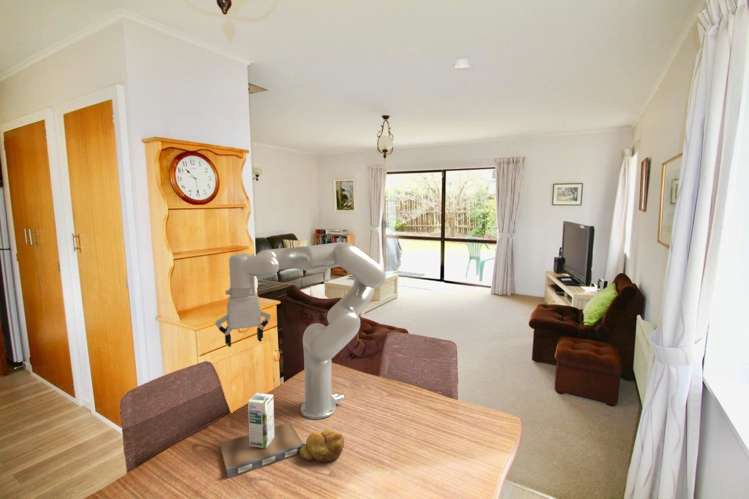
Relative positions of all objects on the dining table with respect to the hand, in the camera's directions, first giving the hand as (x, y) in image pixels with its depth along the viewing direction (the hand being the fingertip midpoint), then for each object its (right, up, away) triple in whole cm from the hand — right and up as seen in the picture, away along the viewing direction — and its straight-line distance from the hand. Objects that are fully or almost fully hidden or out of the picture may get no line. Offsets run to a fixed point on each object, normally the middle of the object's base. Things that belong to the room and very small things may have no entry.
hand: (244, 342), depth 124 cm
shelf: (+9, -30, -10) cm, 33 cm away
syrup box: (+8, -28, -9) cm, 31 cm away
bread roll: (+27, -31, -12) cm, 43 cm away
